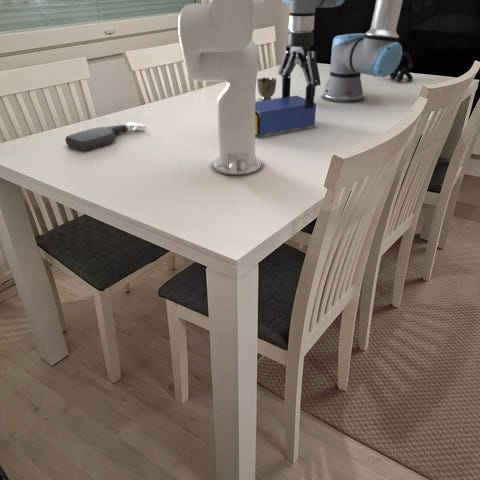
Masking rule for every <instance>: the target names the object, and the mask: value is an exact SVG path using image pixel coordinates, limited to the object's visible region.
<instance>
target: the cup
mask: <svg viewBox="0 0 480 480" xmlns="http://www.w3.org/2000/svg"><path fill="white" fill-rule="evenodd" d="M256 84H257V91H258V95H259V96H260V97H261V101H265V100H271V99H272V97H273V96H274V95H275V92H276V89H277V88H276V87H277V78H276V77H275V78H274V77H272V78H271V79H270V77H262V78H261V77H259V78H256Z"/></svg>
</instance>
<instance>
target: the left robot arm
mask: <svg viewBox="0 0 480 480" xmlns="http://www.w3.org/2000/svg"><path fill="white" fill-rule="evenodd" d="M265 1H266V0H210V1H209V2H197V3H188V4H186V5H184V6H183V7H182V8H181V10H180V12H179V14H178V21H177V30H178V31H177V32H178V40H179V44H180V48H181V54H182V57H183V62H184V66H185V70H186V73H187V76H188V77H189V78H190V79H191V80H192V81H195V82H225V83H226V85H225V86H224V87H223V88H222V90H221V91H220V92H219V94H218V96H217V100H216V110H217V111H216V112H217V133H218V135H217V136H218V137H217V138H218V157H216V158H215V159H214V160H213V167H214V169H215V170H216V171H217V172H219V173H222V174H226V175H233V176H234V175H238V176H239V175H247V174H252V173H254V172H256V171H258V170H259V169H260V168H261V166H262V161H261V159H260V158H259V157H258V156H256V135H255V102H256V92H257V91H256V90H257V89H256V88H257V79H258V78H257V76H258V70H259V62H260V61H259V60H260V50H259V47H258V44H257V43H256V42H255V41H254V40H253V35H254V15H255V14H254V5H255V4H261V3H263V2H265Z"/></svg>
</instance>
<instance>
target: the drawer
mask: <svg viewBox="0 0 480 480" xmlns="http://www.w3.org/2000/svg"><path fill="white" fill-rule="evenodd" d="M259 119H260V115H259V114H257V113H255V136H257V131H259Z"/></svg>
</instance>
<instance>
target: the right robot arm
mask: <svg viewBox="0 0 480 480" xmlns="http://www.w3.org/2000/svg"><path fill="white" fill-rule="evenodd" d="M281 1H282V2H283V3H284V4H287V5H289V15H288V18H289V19H288V31H289V32H288V35H287V37H288V40H287V41H288V42H287V45H285V46H284V52H283V55H282V60H281V62H280V66H279V69H278V75H280V77H281V78H282V79H281V82H282V83H281V98H284V97H290V96H291V81H292V76H291V74H292V72H293V71H294V69H295V67H296V65H297V66H299V67H300V68H301V69H302V73H303V75H304V78H305V81H306V86H305V98H304V99H305V108H313V104H314V102H315V96H316V87H318V86H321V85H322V83H321V78H320V77H321V76H320V72H319V67H318V61H317V50H311V49H310V47H312V46H313V44H314V32H313V31H314V29H315V16H316V9H321V8H334V7H340V6H341V5H342V4H343V3H344V2H345V1H346V0H281ZM403 1H404V0H375V4H374V9H373V14H372V20H371V24H370V28H369V30H367V31H366V32H365V33H363V32H360V33H359V32H357V33H346V34H340V35H336V36H335V37H333V40H332V46H331V54H330V55H331V56H330V70H329V77H328V80H327V83H326V84H325V86H324V87H325V88H324V90H323V95H322V96H323V98H324V99H325V100H328V101H330V102H337V103H353V102H359V101H362V100H363V96H364V91H363V86H362V81H361V74H363V75H368V76H372V77H381V78H385V77H388V76H389V77H390V74H392V73H393V71H395V70H396V68H397V67H398V65H399V63H400V62H401V61H402V59H403V57H402V54H403V46H402V45H401V43H400V42H399V38H400V36H399V34H398V33H397V27H398V22H399V20H400V19H399V18H400V14H401V11H402V10H401V9H402V6H403ZM310 50H311V51H310Z"/></svg>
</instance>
